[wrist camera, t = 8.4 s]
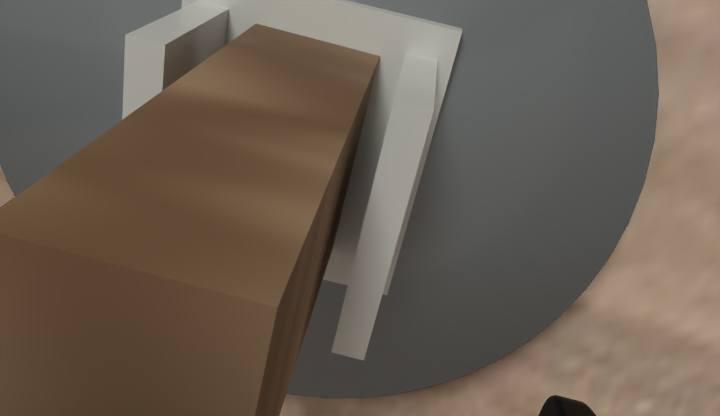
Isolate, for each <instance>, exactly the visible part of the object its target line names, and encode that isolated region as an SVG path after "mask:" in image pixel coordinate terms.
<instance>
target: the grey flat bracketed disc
mask: <svg viewBox="0 0 720 416" xmlns="http://www.w3.org/2000/svg"><path fill="white" fill-rule="evenodd" d="M255 24H260V25H264V26H268V27H272V28H275V29H279V30H283V31H287V32H291V33H294V34H298V35H302V36H306V37H310V38H314V39H317V40H321V41H325V42H329V43H333V44H336V45H340V46H344V47H348V48H352V49H355V50H359V51H363V52H367V53H371V54H374V55H378V56H380V58H379V62H378V66H377V70H376V74H375V78H374V82H373V86H372V90H371V94H370V99H369V103H368V107H367V111H366V115H365V119H364V123H363V127H362V131H361V135H360V139H359V143H358V147H357V151H356V156H355V160H354V164H353V168H352V172H351V176H350V180H349V184H348V188H347V192H346V196H345V200H344V204H343V208H342V212H341V217H340V221H339V225H338V229H337V233H336V237H335V241H334V245H333V249H332V252H331V256H330V259H329V262H328V265H327V268H326V271H325V274H324V277H323V280H322V284H321V287H320V290H319V293H318V296H317V299H316V302H315V305H314V308H313V311H312V315H311V318H310V321H309V324H308V327H307V330H306V333H305V336H304V339H303V343H302V346H301V349H300V352H299V355H298V358H297V361H296V364H295V367H294V371H293V374H292V377H291V380H290V383H289V386H288V389H287V392H286V393H287V394H293V395H303V396H312V397H322V398H363V397H373V396H383V395H393V394H399V393H404V392H408V391H413V390H418V389H423V388H427V387H431V386H434V385H437V384H440V383H443V382H447V381H450V380H453V379H456V378H459V377H462V376H465V375H467V374H469V373H471V372H473V371H475V370H478V369H480V368H482V367H484V366H486V365H488V364H491V363H493V362H495V361H497V360H499V359H500V358H502V357H504V356H505V355H507V354H509V353H510V352H512V351H513V350H515V349H517V348H518V347H520V346H522V345H523V344H525V343H527V342H528V341H530V340H531V339H532V338H533V337H535V336H536V335H537V334H538V333H540V332H541V331H542V330H543V329H545V328H546V327H547V326H548V325H550V324H551V323H552V322H554V321H555V320H556V319H557V318H558V317H559V316H560V315H561V314H562V313H563V312H564V311H565V310H566V309H567V308H568V307H569V306H570V305H571V304H572V303H573V302H574V301H575V300H576V299H577V298H578V297H579V296H580V295H581V294H582V293H583V292H584V291H585V290H586V288H587V287H588V286H589V284H590V283H591V282H592V280H593V279H594V278H595V276H596V275H597V274H598V272H599V271H600V270H601V268H602V267H603V266H604V264H605V263H606V262H607V260H608V259H609V257H610V256H611V254H612V252H613V250H614V248H615V247H616V245H617V243H618V241H619V240H620V238H621V236H622V234H623V232H624V231H625V229H626V227H627V225H628V224H629V221H630V219H631V216H632V213H633V211H634V208H635V206H636V203H637V201H638V198H639V196H640V193H641V191H642V188H643V185H644V182H645V178H646V174H647V170H648V166H649V161H650V157H651V153H652V149H653V145H654V140H655V130H656V119H657V108H658V97H659V90H658V71H657V52H656V43H655V38H654V33H653V28H652V23H651V18H650V13H649V8H648V3H647V0H0V164H1V167H2V170H3V172H4V175H5V177H6V180H7V182H8V184H9V186H10V187H11V189H12V191H13V193H14V195H15V197H16V196H17V195H18V194H20V193H21V192H23V191H24V190H25V189H27V188H28V187H30V186H31V185H32V184H34V183H35V182H36V181H38V180H39V179H41V178H42V177H43V176H45V175H46V174H48V173H49V172H50V171H52V170H53V169H55V168H56V167H57V166H59V165H60V164H61V163H63V162H64V161H66V160H67V159H68V158H70V157H71V156H73V155H74V154H75V153H77V152H78V151H80V150H81V149H82V148H84V147H85V146H86V145H88V144H89V143H91V142H92V141H93V140H95V139H96V138H98V137H99V136H100V135H102V134H103V133H105V132H106V131H107V130H109V129H110V128H111V127H113V126H114V125H116V124H117V123H118V122H120V121H121V120H123V119H124V118H125V117H127V116H128V115H130V114H131V113H132V112H134V111H135V110H136V109H138V108H139V107H141V106H142V105H143V104H145V103H146V102H148V101H149V100H150V99H152V98H153V97H155V96H156V95H157V94H159V93H160V92H161V91H163V90H164V89H166V88H167V87H168V86H170V85H171V84H173V83H174V82H175V81H177V80H178V79H180V78H181V77H182V76H184V75H185V74H186V73H188V72H189V71H191V70H192V69H193V68H195V67H196V66H198V65H199V64H200V63H202V62H203V61H205V60H206V59H207V58H209V57H210V56H211V55H213V54H214V53H216V52H217V51H218V50H220V49H221V48H223V47H224V46H225V45H227V44H228V43H230V42H231V41H232V40H234V39H235V38H236V37H238V36H239V35H241V34H242V33H243V32H245V31H246V30H248V29H249V28H250V27H252V26H253V25H255Z"/></svg>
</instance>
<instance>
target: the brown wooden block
mask: <svg viewBox="0 0 720 416" xmlns="http://www.w3.org/2000/svg"><path fill="white" fill-rule="evenodd" d="M379 58H380V56H378V55H374V54H371V53H367V52H363V51H359V50H355V49H352V48H348V47H344V46H340V45H336V44H333V43H329V42H325V41H321V40H317V39H314V38H310V37H306V36H302V35H298V34H294V33H291V32H287V31H283V30H279V29H275V28H272V27H268V26H264V25H260V24H255V25H253V26H252V27H250V28H249V29H248V30H246V31H245V32H243V33H242V34H241V35H239V36H238V37H236V38H235V39H234V40H232V41H231V42H230V43H228V44H227V45H225V46H224V47H223V48H221V49H220V50H218V51H217V52H216V53H214V54H213V55H211V56H210V57H209V58H207V59H206V60H205V61H203V62H202V63H200V64H199V65H198V66H196V67H195V68H193V69H192V70H191V71H189V72H188V73H186V74H185V75H184V76H182V77H181V78H180V79H178V80H177V81H175V82H174V83H173V84H171V85H170V86H168V87H167V88H166V89H164V90H163V91H161V92H160V93H159V94H157V95H156V96H155V97H153V98H152V99H150V100H149V101H148V102H146V103H145V104H143V105H142V106H141V107H139V108H138V109H136V110H135V111H134V112H132V113H131V114H130V115H128V116H127V117H125V118H124V119H123V120H121V121H120V122H118V123H117V124H116V125H114V126H113V127H111V128H110V129H109V130H107V131H106V132H105V133H103V134H102V135H100V136H99V137H98V138H96V139H95V140H93V141H92V142H91V143H89V144H88V145H86V146H85V147H84V148H82V149H81V150H80V151H78V152H77V153H75V154H74V155H73V156H71V157H70V158H68V159H67V160H66V161H64V162H63V163H61V164H60V165H59V166H57V167H56V168H55V169H53V170H52V171H50V172H49V173H48V174H46V175H45V176H43V177H42V178H41V179H39V180H38V181H36V182H35V183H34V184H32V185H31V186H30V187H28V188H27V189H25V190H24V191H23V192H21V193H20V194H18V195H17V196H16V197H14V198H13V199H11V200H10V201H9V202H7V203H6V204H5V205H3V206H2V207H0V416H279V414H280V411H281V408H282V405H283V402H284V399H285V395H286V392H287V389H288V386H289V383H290V380H291V377H292V374H293V371H294V367H295V364H296V361H297V358H298V355H299V352H300V349H301V346H302V343H303V339H304V336H305V333H306V330H307V327H308V324H309V321H310V318H311V315H312V311H313V308H314V305H315V302H316V299H317V296H318V293H319V290H320V287H321V284H322V280H323V277H324V274H325V271H326V268H327V265H328V262H329V259H330V256H331V252H332V249H333V245H334V241H335V237H336V233H337V229H338V225H339V221H340V217H341V212H342V208H343V204H344V200H345V196H346V192H347V188H348V184H349V180H350V176H351V172H352V168H353V164H354V160H355V156H356V151H357V147H358V143H359V139H360V135H361V131H362V127H363V123H364V119H365V115H366V111H367V107H368V103H369V99H370V94H371V90H372V86H373V82H374V78H375V74H376V70H377V66H378V62H379Z"/></svg>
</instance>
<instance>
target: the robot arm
mask: <svg viewBox="0 0 720 416" xmlns="http://www.w3.org/2000/svg"><path fill="white" fill-rule="evenodd" d="M539 416H596V415H595V413H594V412H593V411H592V410H591V409H590V408H589V407H588V406H587V405H586V404H585V403H583V402H581V401H577V400H573V399H569V398H565V397H561V396H557V395H554V396H551V397H549V398H548V399H547V400H546V402H545V403H544V405H543V407H542V410H541V412H540V414H539Z"/></svg>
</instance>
